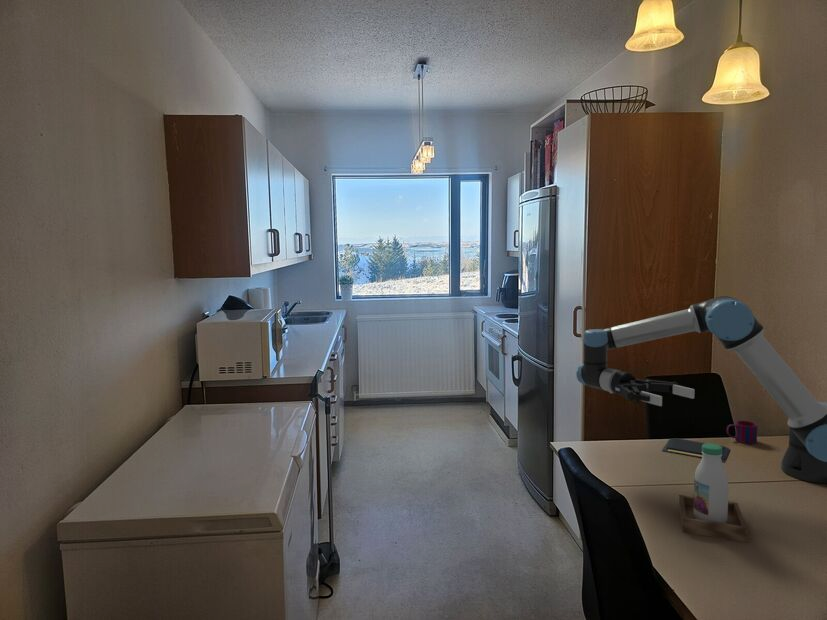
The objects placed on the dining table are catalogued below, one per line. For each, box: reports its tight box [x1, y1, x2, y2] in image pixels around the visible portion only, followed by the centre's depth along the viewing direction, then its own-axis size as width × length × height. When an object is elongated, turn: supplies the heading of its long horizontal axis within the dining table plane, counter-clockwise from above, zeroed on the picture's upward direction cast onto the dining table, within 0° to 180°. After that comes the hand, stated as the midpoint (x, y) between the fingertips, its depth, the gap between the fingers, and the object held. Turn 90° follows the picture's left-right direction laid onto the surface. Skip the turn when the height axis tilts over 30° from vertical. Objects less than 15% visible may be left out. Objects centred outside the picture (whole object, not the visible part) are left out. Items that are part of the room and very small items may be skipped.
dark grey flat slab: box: [661, 437, 731, 464], centre depth 184 cm, size 20×2×15 cm
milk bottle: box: [693, 442, 729, 524], centre depth 134 cm, size 8×8×20 cm
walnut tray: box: [678, 494, 748, 543], centre depth 135 cm, size 14×14×4 cm
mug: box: [726, 420, 758, 445], centre depth 190 cm, size 7×10×7 cm
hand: (677, 397), depth 146 cm, fingers open, 13 cm apart
